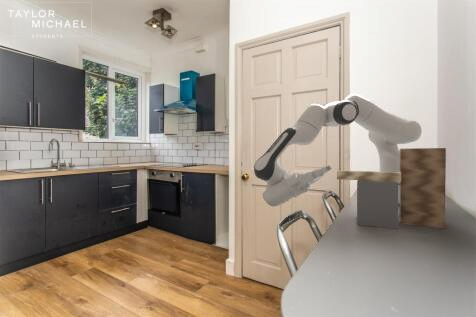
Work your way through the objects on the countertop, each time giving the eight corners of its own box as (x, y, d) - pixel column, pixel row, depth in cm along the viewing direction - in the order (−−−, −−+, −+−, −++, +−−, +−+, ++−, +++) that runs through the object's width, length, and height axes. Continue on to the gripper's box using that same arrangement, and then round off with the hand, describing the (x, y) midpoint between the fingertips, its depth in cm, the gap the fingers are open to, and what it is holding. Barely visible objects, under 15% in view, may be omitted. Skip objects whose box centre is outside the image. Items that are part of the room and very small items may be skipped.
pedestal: (400, 223, 87) (401, 148, 86) (399, 216, 95) (399, 148, 94) (444, 228, 81) (445, 148, 80) (439, 220, 89) (440, 148, 88)
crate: (357, 224, 87) (357, 181, 86) (359, 217, 95) (359, 178, 95) (398, 229, 81) (398, 183, 80) (396, 221, 89) (397, 179, 89)
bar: (336, 179, 93) (336, 171, 93) (338, 178, 95) (338, 170, 95) (401, 182, 83) (401, 173, 82) (400, 180, 85) (400, 172, 85)
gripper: (285, 180, 94) (317, 162, 87) (300, 174, 111) (328, 159, 105) (293, 195, 92) (326, 178, 86) (308, 187, 110) (336, 172, 104)
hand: (328, 168), depth 96 cm, fingers open, 8 cm apart
